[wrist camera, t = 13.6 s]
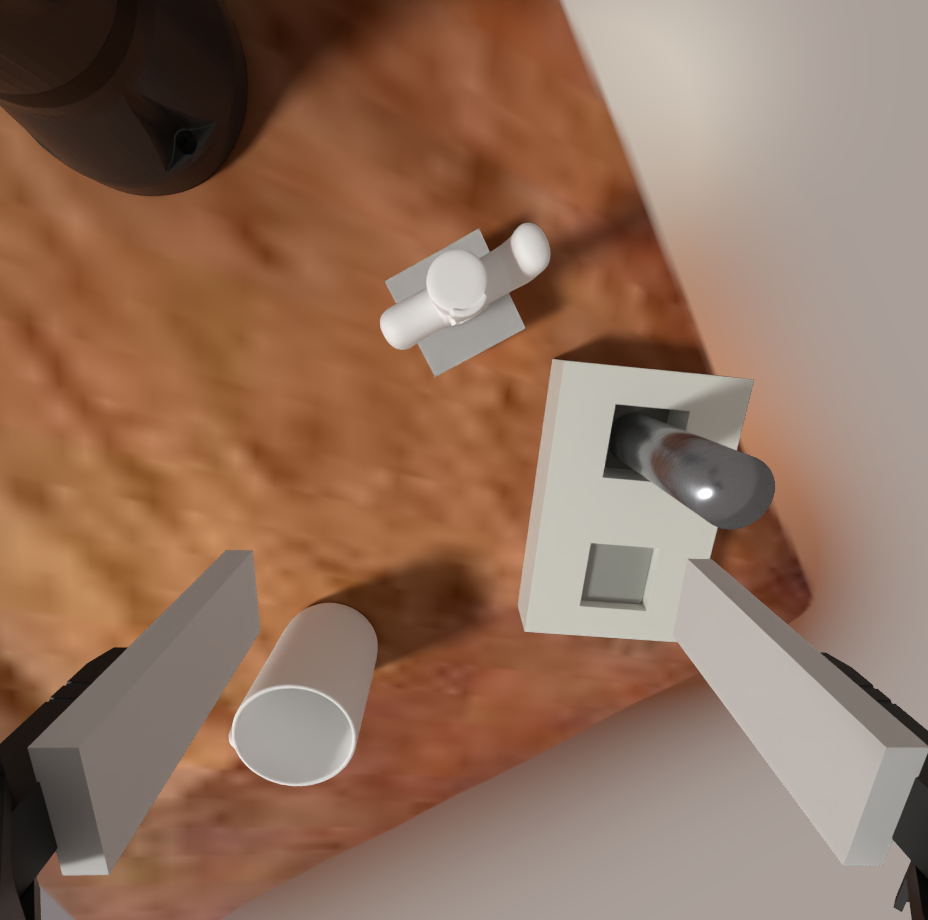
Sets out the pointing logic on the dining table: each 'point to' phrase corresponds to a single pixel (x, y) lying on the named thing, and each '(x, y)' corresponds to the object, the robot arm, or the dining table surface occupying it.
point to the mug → (308, 698)
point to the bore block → (616, 502)
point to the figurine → (463, 296)
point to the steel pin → (695, 470)
